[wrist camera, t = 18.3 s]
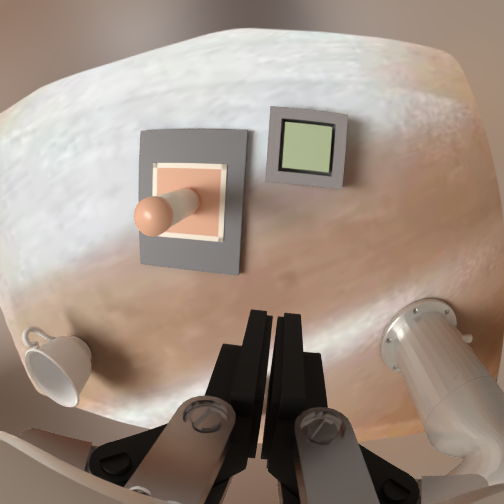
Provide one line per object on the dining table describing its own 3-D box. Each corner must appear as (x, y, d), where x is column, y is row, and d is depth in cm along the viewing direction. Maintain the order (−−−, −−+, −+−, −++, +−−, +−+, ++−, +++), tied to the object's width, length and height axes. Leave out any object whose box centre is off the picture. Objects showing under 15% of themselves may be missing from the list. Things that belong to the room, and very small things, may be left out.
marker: (202, 187, 33) (169, 198, 23) (201, 216, 34) (169, 238, 24) (174, 186, 33) (133, 196, 23) (173, 214, 34) (134, 235, 25)
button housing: (342, 118, 29) (347, 114, 27) (337, 187, 32) (341, 189, 29) (271, 111, 30) (270, 106, 27) (267, 179, 33) (265, 181, 30)
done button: (329, 129, 29) (332, 127, 27) (326, 171, 30) (328, 172, 29) (285, 124, 29) (285, 121, 27) (282, 167, 31) (281, 167, 29)
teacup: (71, 298, 41) (33, 326, 32) (118, 370, 44) (91, 406, 35) (39, 315, 44) (6, 340, 34) (80, 377, 47) (55, 408, 38)
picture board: (248, 130, 31) (247, 130, 30) (239, 272, 36) (238, 275, 35) (143, 131, 32) (140, 130, 31) (143, 262, 37) (140, 264, 36)
